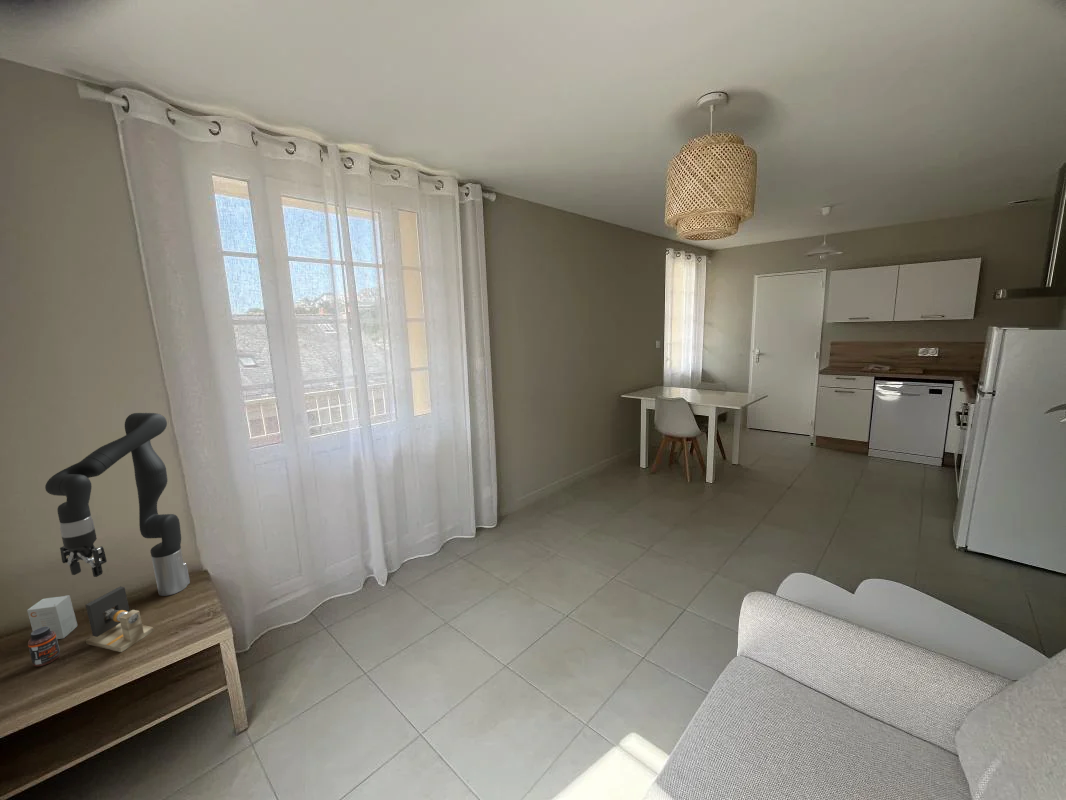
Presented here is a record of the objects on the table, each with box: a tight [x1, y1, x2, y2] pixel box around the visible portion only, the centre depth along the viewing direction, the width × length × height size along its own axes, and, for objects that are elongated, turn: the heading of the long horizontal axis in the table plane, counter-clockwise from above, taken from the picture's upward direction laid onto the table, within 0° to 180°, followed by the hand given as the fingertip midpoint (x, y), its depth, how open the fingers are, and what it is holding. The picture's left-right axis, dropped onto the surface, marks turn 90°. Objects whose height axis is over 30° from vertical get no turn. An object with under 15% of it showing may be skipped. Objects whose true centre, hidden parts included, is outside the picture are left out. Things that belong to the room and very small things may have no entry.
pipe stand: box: [85, 608, 155, 653], centre depth 145 cm, size 10×16×11 cm, turn 77°
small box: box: [26, 595, 78, 640], centre depth 146 cm, size 8×6×13 cm
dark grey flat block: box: [85, 585, 131, 637], centre depth 145 cm, size 10×2×12 cm, turn 167°
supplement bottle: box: [27, 626, 61, 667], centre depth 135 cm, size 6×6×11 cm
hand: (87, 574), depth 141 cm, fingers open, 8 cm apart
